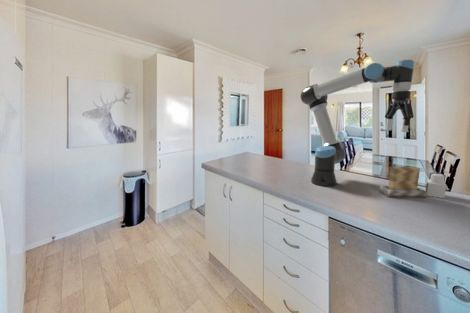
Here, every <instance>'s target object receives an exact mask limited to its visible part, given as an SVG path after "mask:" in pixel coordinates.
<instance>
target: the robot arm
mask: <svg viewBox="0 0 470 313" xmlns="http://www.w3.org/2000/svg"><path fill="white" fill-rule="evenodd" d="M414 65H415V61H414V60H413V59H402V60H399V61H397V62H396V64H395V65H392V66H387V67H386V66H383V65H382V64H381V63H378V62H372V63H370V64H368V65H366V67H364V68H360V69H358V70H355V71H353V72H350V73H346V74H344V75H342V76H338V77H335V78H333V79H330V80H328V81H325V82H322V83H319V84H318V83H315V84H312V85H309V86H307V87H304V89H302V91H301V92H300V100H301V102H302V103H303V104H305V105H308V107H309V109H310V111H312V112H313V115H314V118H315V122H316V124H317V128H318V131H319V133H320V139H321V141H322V145H320V146H318V147H316V149H315V153H314V172H313V173H312V176H311V178H310V179H311V180H310V182H311V183H312V184H314V185H317V186H322V187H323V186H324V187H333V186H336V185H337V182H338V181H337V178H336V174H335V165H336V164H340V163H342V161H344V159H345V158H346V150H345V149H344V147H342V146H341V142H340V141H339V140H338V139H337V138H336V134H335V131H334V128H333V125H332V121H331V118H330V115H329V113H328V109H327V106H328V101H327V100H328V95H331V94H334V93H337V92H340V91H342V90H346V89H349V88H353V87H355V86H359V85H362V84H365V83H369V84H373V83H374V84H376V83H383V82H393V86H392V91H393V92H392V95H391V99H392V101H391V100H390V102H389V105H388V107H387V110H386V113H385V115H384V118H385V119H386V126H385V131H392V130H393V122H394V116H395V115H396V113H397V112H398V110H400V112H401V114H402V117H403V118H402V123H401V128H400V132H401V133H408V131H409V125H410V120H411V119H414V116H415V115H414V112H413V107H412V99H410V95H411V92H410V90H411V87H412V80H413V73H414V67H415V66H414Z"/></svg>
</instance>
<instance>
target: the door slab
mask: <svg viewBox="0 0 470 313" xmlns="http://www.w3.org/2000/svg"><path fill="white" fill-rule="evenodd" d="M420 170H421V168H419V167H416V166H390V169H389V178H388V185H387V186H388V189H390V190H417V188H418V187H419V186H418V184H419V180H420V179H419V178H420Z"/></svg>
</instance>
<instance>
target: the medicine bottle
mask: <svg viewBox="0 0 470 313" xmlns="http://www.w3.org/2000/svg"><path fill="white" fill-rule="evenodd" d="M446 177H447V176H446V174H444V173H441V172H430V173H429V178H428V179H427V180H426V183H425V184H426V185H425V191H426V197H432V196H433V197H432V198H438V197H439V199H445V198H446V197H445V196H446V191H447V184H446V182H445V181H446Z"/></svg>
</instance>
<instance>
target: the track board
mask: <svg viewBox="0 0 470 313" xmlns="http://www.w3.org/2000/svg"><path fill="white" fill-rule="evenodd" d="M378 192H380V193H381V194H382V195H385V196H386V197H388V198H405V199H407V198H408V199H409V198H410V199H411V198H412V199H413V198H414V199H416V198H417V199H419V198H420V199H426V198H427V196H426V189H422V188H420V187H417V190H390V189H388V185H379V190H378Z"/></svg>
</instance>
